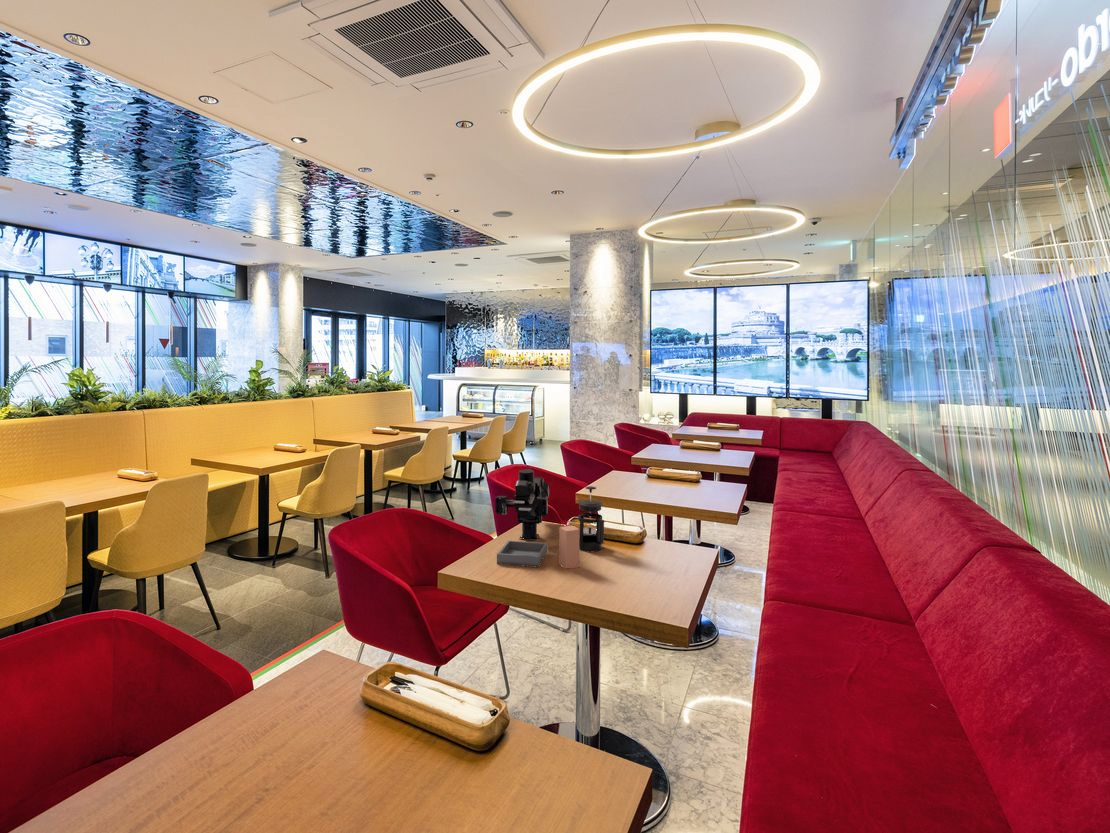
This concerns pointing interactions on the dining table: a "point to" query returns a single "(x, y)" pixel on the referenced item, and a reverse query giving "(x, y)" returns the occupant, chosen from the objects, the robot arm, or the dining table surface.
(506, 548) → the tray
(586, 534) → the french press
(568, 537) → the terracotta block
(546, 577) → the dining table surface
